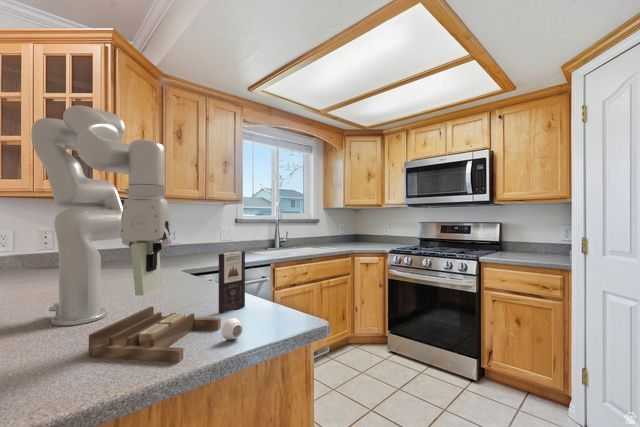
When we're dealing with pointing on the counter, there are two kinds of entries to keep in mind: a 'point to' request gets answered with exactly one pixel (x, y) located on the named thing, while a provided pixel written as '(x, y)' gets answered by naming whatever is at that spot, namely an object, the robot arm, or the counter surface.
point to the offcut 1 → (151, 333)
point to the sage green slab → (144, 270)
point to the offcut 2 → (172, 319)
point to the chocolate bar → (231, 281)
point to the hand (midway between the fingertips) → (146, 270)
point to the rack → (124, 339)
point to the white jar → (231, 329)
